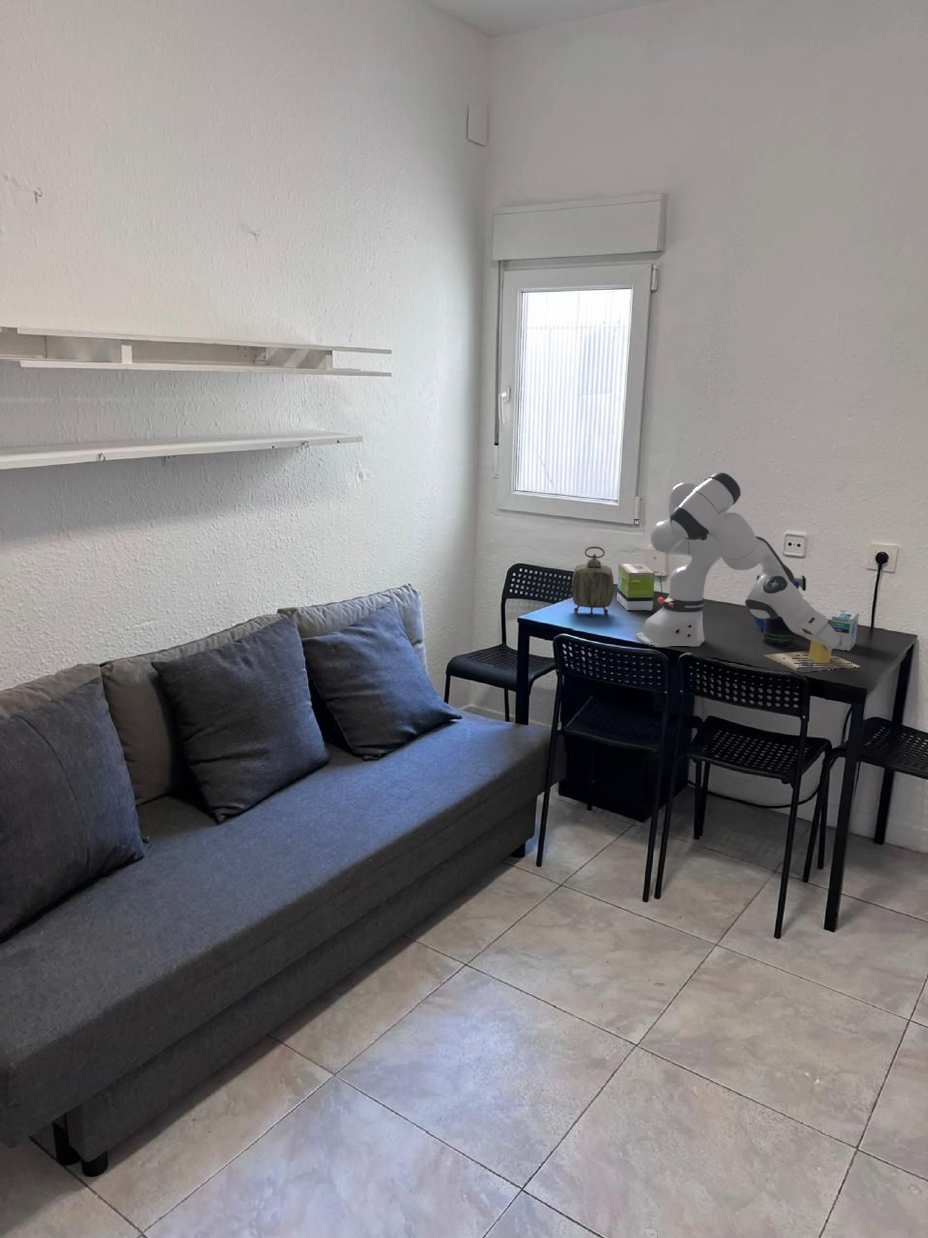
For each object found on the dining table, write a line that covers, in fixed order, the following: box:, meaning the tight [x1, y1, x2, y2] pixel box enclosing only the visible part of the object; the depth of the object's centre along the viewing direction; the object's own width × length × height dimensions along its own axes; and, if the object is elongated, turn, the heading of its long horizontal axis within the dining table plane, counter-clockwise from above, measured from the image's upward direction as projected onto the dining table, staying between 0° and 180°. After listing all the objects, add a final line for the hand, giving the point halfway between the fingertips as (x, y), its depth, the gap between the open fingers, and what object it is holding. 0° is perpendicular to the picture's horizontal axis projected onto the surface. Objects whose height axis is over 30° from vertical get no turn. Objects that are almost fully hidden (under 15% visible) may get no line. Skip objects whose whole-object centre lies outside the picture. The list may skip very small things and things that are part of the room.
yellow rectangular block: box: [808, 640, 833, 663], centre depth 290 cm, size 4×5×9 cm
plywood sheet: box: [763, 650, 861, 672], centre depth 291 cm, size 22×18×1 cm
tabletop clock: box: [571, 546, 615, 617], centre depth 335 cm, size 14×9×25 cm, turn 84°
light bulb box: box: [830, 609, 860, 652], centre depth 306 cm, size 11×7×11 cm, turn 148°
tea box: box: [616, 563, 656, 611], centre depth 350 cm, size 15×10×15 cm
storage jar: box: [762, 616, 796, 649], centre depth 307 cm, size 10×10×15 cm
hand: (823, 646), depth 290 cm, fingers closed on yellow rectangular block, 5 cm apart
